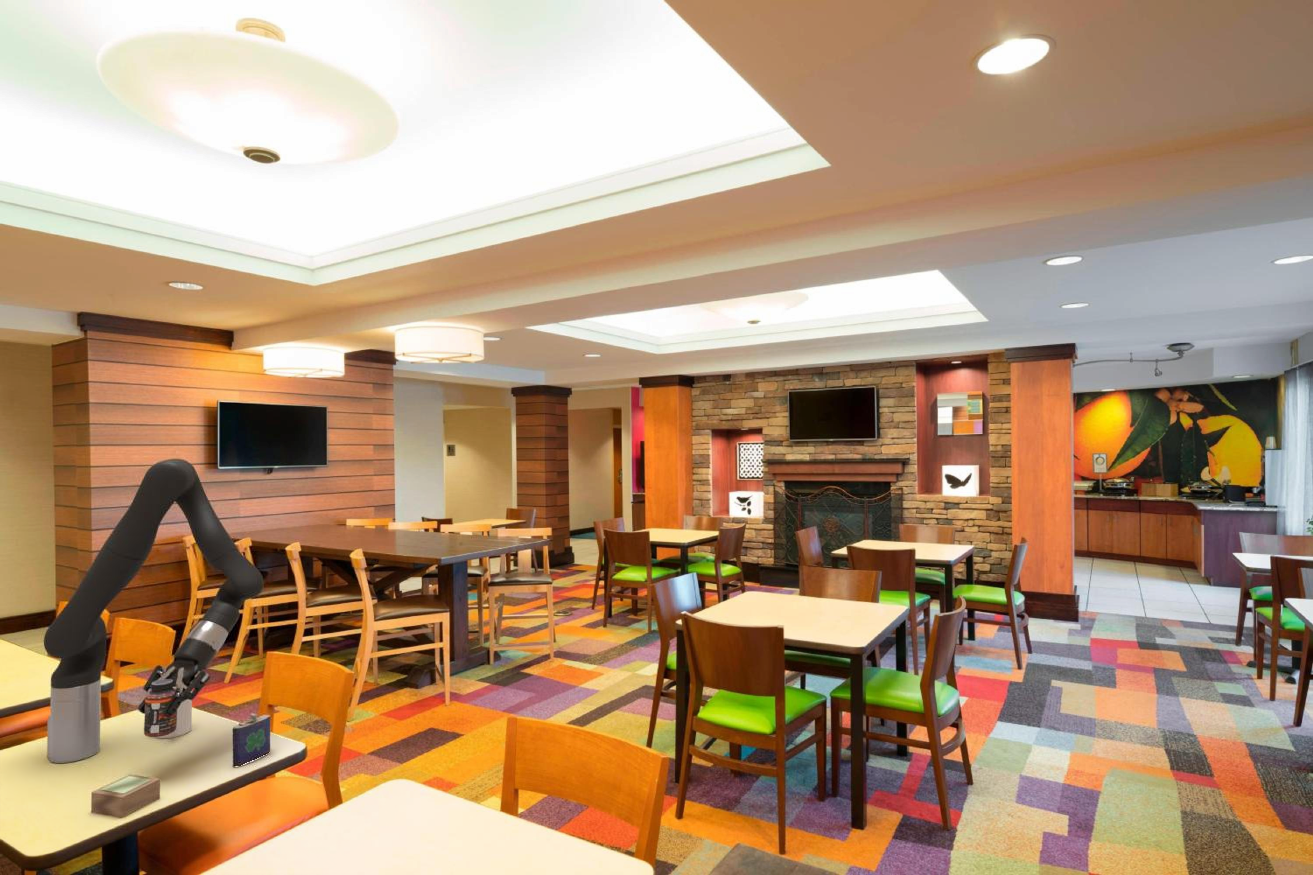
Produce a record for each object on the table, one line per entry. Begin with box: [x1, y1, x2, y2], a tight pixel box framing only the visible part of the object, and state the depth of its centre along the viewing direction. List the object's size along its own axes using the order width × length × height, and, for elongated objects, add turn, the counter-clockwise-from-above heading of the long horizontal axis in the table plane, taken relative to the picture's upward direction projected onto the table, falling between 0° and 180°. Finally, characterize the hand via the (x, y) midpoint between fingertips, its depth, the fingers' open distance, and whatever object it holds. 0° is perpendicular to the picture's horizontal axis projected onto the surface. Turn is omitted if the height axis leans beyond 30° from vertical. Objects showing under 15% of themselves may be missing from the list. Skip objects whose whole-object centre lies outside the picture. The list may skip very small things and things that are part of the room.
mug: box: [156, 687, 193, 739], centre depth 179 cm, size 12×8×10 cm, turn 34°
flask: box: [231, 712, 271, 767], centre depth 166 cm, size 9×3×11 cm, turn 157°
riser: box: [90, 773, 161, 819], centre depth 145 cm, size 8×8×4 cm
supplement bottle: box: [143, 679, 177, 738], centre depth 157 cm, size 6×6×11 cm
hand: (153, 713), depth 155 cm, fingers closed on supplement bottle, 6 cm apart
